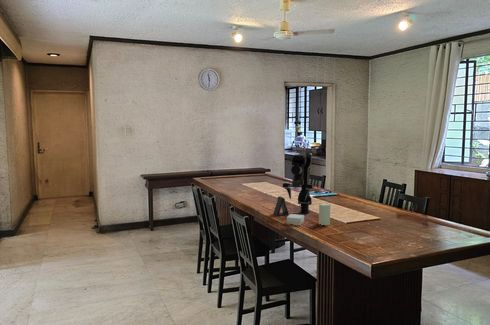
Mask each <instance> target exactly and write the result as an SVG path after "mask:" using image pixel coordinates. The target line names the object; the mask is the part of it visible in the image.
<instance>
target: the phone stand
mask: <svg viewBox="0 0 490 325" xmlns="http://www.w3.org/2000/svg"><path fill="white" fill-rule="evenodd" d="M276 198H277V199H276V200H277V202H276V205H275V207H274V210H273V215H275V216H277V217H280V215H282V216H289V215H290V214H289V211H288V208H287V205H286V202H285V201H286V200H285V198H284V197H283V196H277V197H276ZM281 211H282V212H281Z"/></svg>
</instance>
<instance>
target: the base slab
mask: <svg viewBox="0 0 490 325" xmlns="http://www.w3.org/2000/svg"><path fill="white" fill-rule="evenodd" d="M303 222H304V223H305V219H304V220H303V221H302V222H290V221H287V220H286V221H285V224H286V225H289V224H293V225H292V226H299V225H301V224H302V223H303ZM304 223H303V224H304ZM303 224H302V225H303ZM302 225H301V226H302Z"/></svg>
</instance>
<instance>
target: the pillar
mask: <svg viewBox="0 0 490 325" xmlns="http://www.w3.org/2000/svg"><path fill="white" fill-rule="evenodd" d="M318 204H319V205H318V224H319V225H320V224H321V225H320V226H322V225H325V226H331V205H330V204H329V203H318Z"/></svg>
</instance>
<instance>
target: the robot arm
mask: <svg viewBox="0 0 490 325" xmlns="http://www.w3.org/2000/svg"><path fill="white" fill-rule="evenodd" d="M312 163H313V155H312V154H311V153H310V152H309V150H303V149H301V150H300V152H299V153H298V154H294V155H293V157H292V160H291V168H290V171H291V173H292V174H293V179H292V181H291V182H284V183H282V188H284V189H285V190H286V191H287V192H286V193H287V194H288V197H289V200H291V199H292V188H300V191H299V192H298V195H297V204H298V205H299V206H300V211H299V212H298V214H303V215H304V214H305V215H308V214H309V213H311V211H310V210H309V209H310V206H311V205H312V203H313V201H312V197H311V193H310V191H312V190H314V184H312V183H309V169H310V167H311V166H312Z"/></svg>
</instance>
